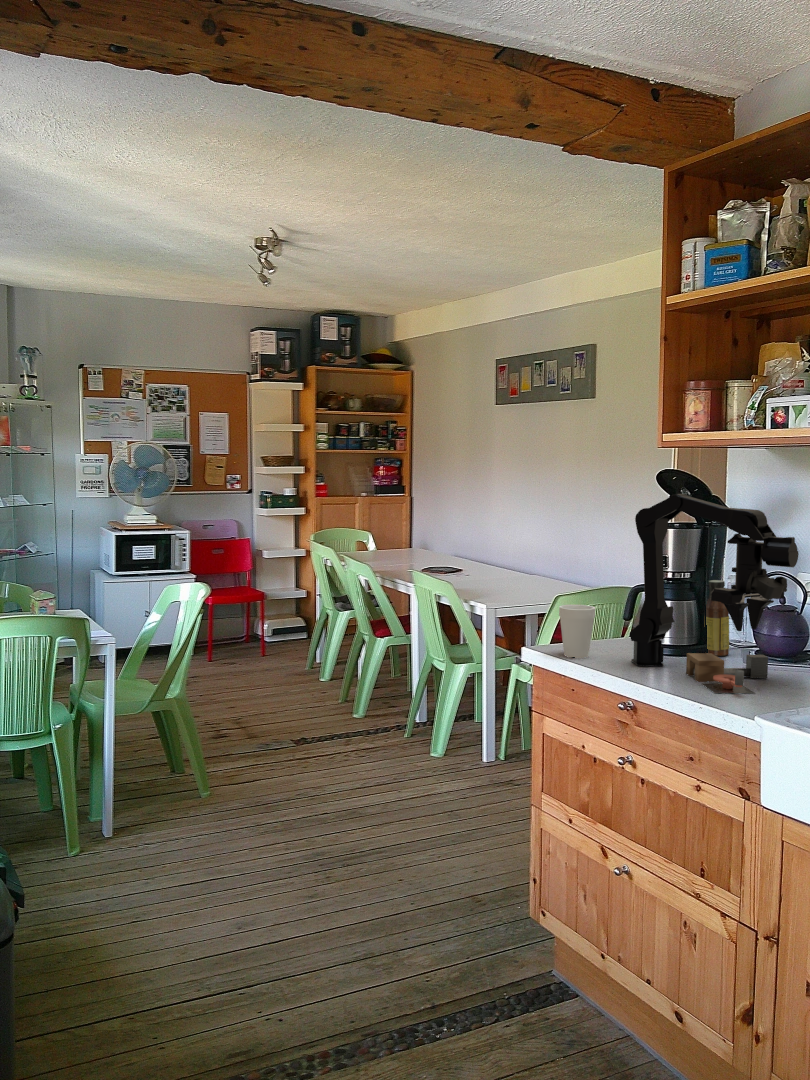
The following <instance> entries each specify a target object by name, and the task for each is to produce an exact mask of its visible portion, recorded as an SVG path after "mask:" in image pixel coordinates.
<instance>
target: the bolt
mask: <svg viewBox="0 0 810 1080" xmlns="http://www.w3.org/2000/svg"><path fill="white" fill-rule="evenodd" d="M745 656H746V657H745V658H746V659H745V660H746V661H745V663H746V664H745V667H724V674H727V675H735V670H742V671H744V678H745V677H748V678H750V679H768V676H769V675H768V672H769V670H768V669H769V657H768V656H767V655H764V654H746V655H745ZM692 677H694V678H695V668H694V669H693V676H692Z"/></svg>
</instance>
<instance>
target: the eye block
mask: <svg viewBox="0 0 810 1080" xmlns="http://www.w3.org/2000/svg"><path fill="white" fill-rule="evenodd" d="M685 663H686V664H685V666H686V668H685V670H686V671H685V672H686V673H685V674H686V675H687V674H688V676H689V677H694V676H693V669H694V668H695V677H694V680H695V681H696V682H697V681H698V683H718V682H717V681H715V680H713V676H714V675H720V674H724V668H725V660H724V659H721V658H720V656H715V655H713V654H712V653H706V652H705V653H704V652H703V653H702V652H700V653H699V652H696V653H695V652H694V653H692V652H688V653H687V652H686V661H685ZM707 681H709V682H707Z"/></svg>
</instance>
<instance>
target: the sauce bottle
mask: <svg viewBox="0 0 810 1080" xmlns="http://www.w3.org/2000/svg"><path fill="white" fill-rule="evenodd" d="M725 586H726V583H725V580H719V579H713V580H708V589H709V590H708V592H709V594H708V598H707V601H706V603H707V604H706V603H705V604H706V625H707V649H708V653H712V654H713V655H715V656H717V657H725V656H728V655H729V652H730V651H729V650H730V614H729V612H728V611H727V609H726V607H725V605H724V604H723V603H721V602H718V601H712V600H711V592H712V591H713V589H716V588H725Z"/></svg>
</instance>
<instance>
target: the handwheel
mask: <svg viewBox="0 0 810 1080" xmlns="http://www.w3.org/2000/svg"><path fill="white" fill-rule="evenodd" d="M744 679H745V677H744V671H742V670H735V675H727V674H720V675H714V676H713V680H715V681H717V682H716V683H722V688H725V689H733V687H734V686H735V687H742V685H743V686H745V684H744V683H745V681H744Z"/></svg>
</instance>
